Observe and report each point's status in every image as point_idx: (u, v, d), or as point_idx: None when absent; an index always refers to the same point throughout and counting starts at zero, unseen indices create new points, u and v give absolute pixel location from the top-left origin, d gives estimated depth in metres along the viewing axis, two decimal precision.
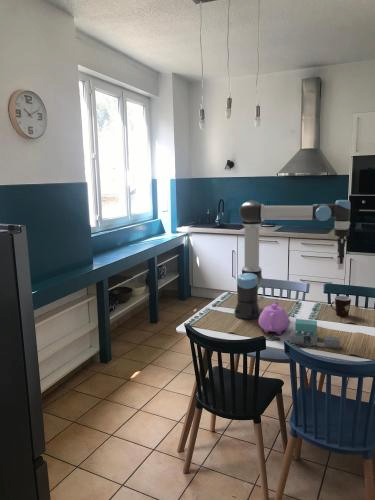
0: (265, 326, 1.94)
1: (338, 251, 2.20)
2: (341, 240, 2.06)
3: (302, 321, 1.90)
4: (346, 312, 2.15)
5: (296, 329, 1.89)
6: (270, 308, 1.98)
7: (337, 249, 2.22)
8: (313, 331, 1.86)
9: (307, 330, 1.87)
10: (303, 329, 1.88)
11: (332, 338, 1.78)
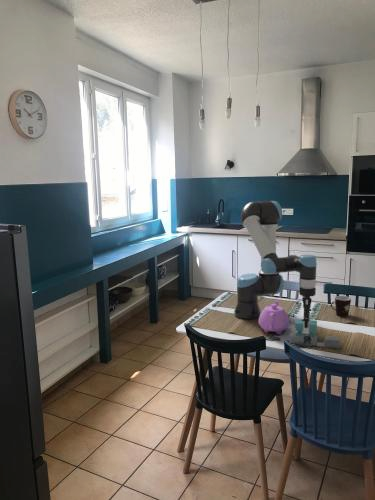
0: (265, 326, 1.94)
1: None
2: (306, 301, 1.81)
3: (302, 321, 1.90)
4: (346, 312, 2.15)
5: (296, 329, 1.89)
6: (270, 308, 1.98)
7: None
8: (313, 331, 1.86)
9: None
10: None
11: (332, 338, 1.78)
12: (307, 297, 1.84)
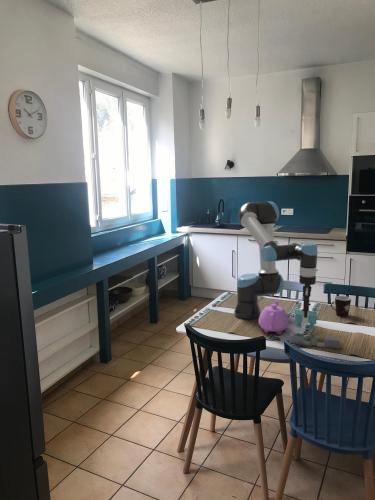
0: (265, 326, 1.94)
1: None
2: (305, 293, 1.81)
3: (302, 312, 1.90)
4: (346, 312, 2.15)
5: (296, 320, 1.89)
6: (270, 308, 1.98)
7: None
8: (313, 322, 1.86)
9: None
10: None
11: (332, 338, 1.78)
12: (307, 285, 1.83)
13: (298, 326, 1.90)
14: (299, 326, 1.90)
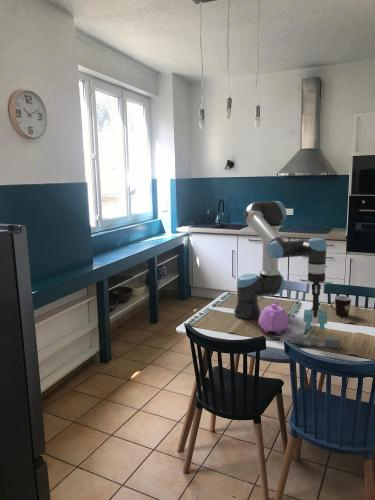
0: (265, 326, 1.94)
1: None
2: (315, 291, 1.70)
3: (311, 312, 1.79)
4: (346, 312, 2.15)
5: (305, 320, 1.77)
6: (270, 308, 1.98)
7: None
8: (323, 322, 1.75)
9: None
10: None
11: (332, 338, 1.78)
12: (316, 283, 1.72)
13: (307, 327, 1.79)
14: (308, 327, 1.78)
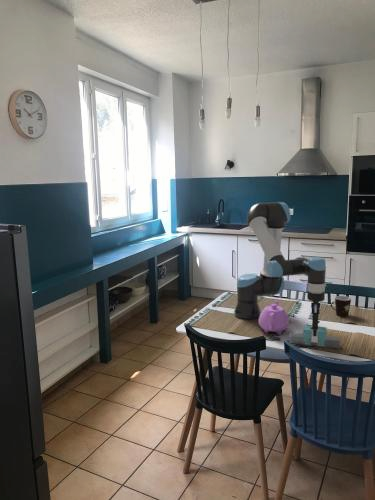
0: (265, 326, 1.94)
1: None
2: (314, 310, 1.72)
3: None
4: (346, 312, 2.15)
5: (304, 336, 1.79)
6: (270, 308, 1.98)
7: None
8: (322, 338, 1.76)
9: None
10: None
11: (332, 338, 1.78)
12: (316, 302, 1.74)
13: (307, 343, 1.80)
14: (308, 343, 1.80)
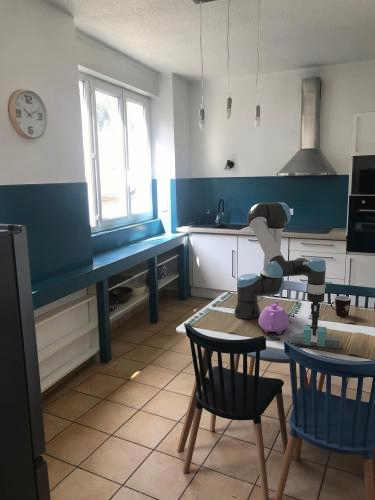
0: (265, 326, 1.94)
1: None
2: (314, 308, 1.72)
3: (310, 328, 1.80)
4: (346, 312, 2.15)
5: (304, 336, 1.79)
6: (270, 308, 1.98)
7: None
8: (322, 338, 1.76)
9: None
10: None
11: (332, 338, 1.78)
12: (315, 303, 1.74)
13: (307, 343, 1.80)
14: (308, 343, 1.80)
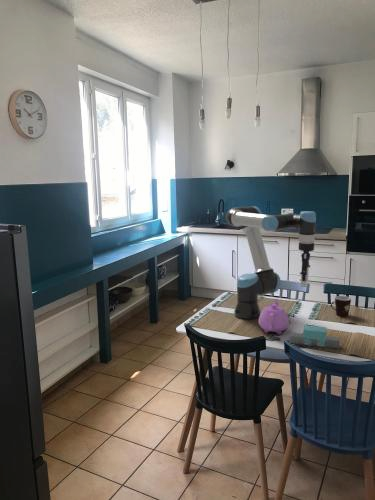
0: (265, 326, 1.94)
1: None
2: (304, 255, 1.89)
3: (310, 328, 1.80)
4: (346, 312, 2.15)
5: (304, 336, 1.79)
6: (270, 308, 1.98)
7: None
8: (322, 338, 1.76)
9: (316, 337, 1.77)
10: (312, 336, 1.78)
11: (332, 338, 1.78)
12: (306, 252, 1.91)
13: (307, 343, 1.80)
14: (308, 343, 1.80)
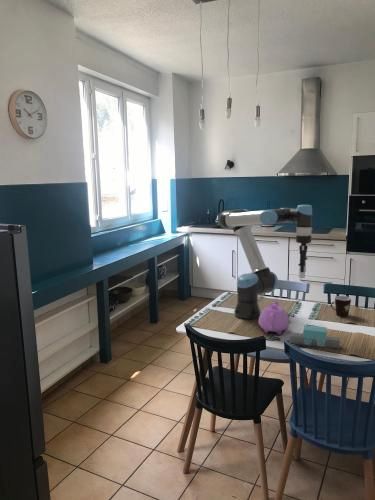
0: (265, 326, 1.94)
1: None
2: (302, 247, 1.95)
3: (310, 328, 1.80)
4: (346, 312, 2.15)
5: (304, 336, 1.79)
6: (270, 308, 1.98)
7: None
8: (322, 338, 1.76)
9: (316, 337, 1.77)
10: (312, 336, 1.78)
11: (332, 338, 1.78)
12: (303, 244, 1.97)
13: (307, 343, 1.80)
14: (308, 343, 1.80)
